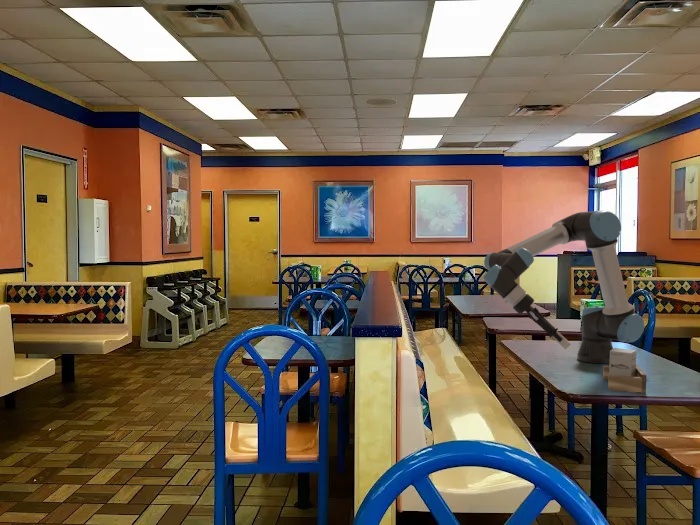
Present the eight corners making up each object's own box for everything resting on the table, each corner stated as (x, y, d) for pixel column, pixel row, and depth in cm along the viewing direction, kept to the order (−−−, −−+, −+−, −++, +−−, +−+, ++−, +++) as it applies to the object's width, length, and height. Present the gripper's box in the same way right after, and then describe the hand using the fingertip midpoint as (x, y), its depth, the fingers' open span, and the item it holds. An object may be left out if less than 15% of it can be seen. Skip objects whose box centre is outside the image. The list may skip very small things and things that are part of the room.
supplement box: (608, 386, 203) (608, 350, 203) (614, 381, 209) (614, 347, 209) (630, 389, 199) (631, 352, 198) (636, 385, 204) (637, 349, 204)
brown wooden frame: (603, 379, 213) (603, 362, 213) (637, 381, 210) (637, 364, 209) (608, 390, 197) (608, 372, 197) (645, 393, 194) (646, 374, 193)
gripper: (512, 304, 219) (559, 350, 215) (511, 309, 207) (561, 357, 203) (527, 291, 218) (574, 336, 213) (526, 294, 205) (577, 342, 201)
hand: (568, 346), depth 208 cm, fingers closed
